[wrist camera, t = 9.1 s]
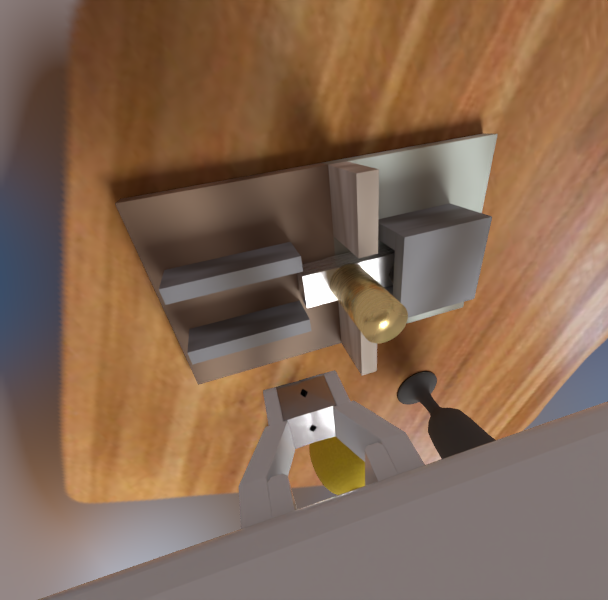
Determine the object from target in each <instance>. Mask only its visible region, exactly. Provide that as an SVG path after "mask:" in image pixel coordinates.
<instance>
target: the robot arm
mask: <svg viewBox="0 0 608 600" xmlns="http://www.w3.org/2000/svg"><path fill="white" fill-rule="evenodd" d="M276 389H277V390H276ZM263 394H264V400H265V406H266V412H267V418H268V424H269V426H267V427H265V429H264V431H263V433H262V436H261V438H260V440H259V442H258V445H257V447H256V449H255V451H254V453H253V456H252V458H251V460H250V462H249V465H248V467H247V469H246V471H245V473H244V476H243V478H242V480H241V482H240V485H239V501H240V519H241V529H240V530H237V531H234V532H231V533H229V534H225V535H222V536H219V537H217V538H214V539H211V540H208V541H205V542H202V543H200V544H197V545H194V546H191V547H188V548H185V549H182V550H180V551H176V552H173V553H171V554H168V555H165V556H162V557H159V558H157V559H153V560H151V561H148V562H145V563H142V564H139V565H136V566H133V567H130V568H128V569H125V570H122V571H119V572H116V573H113V574H110V575H107V576H104V577H102V578H99V579H96V580H93V581H90V582H87V583H84V584H81V585H79V586H76V587H73V588H70V589H67V590H64V591H62V592H59V593H56V594H53V595H50V596H47V597H44V598H41V599H38V600H608V402H605V403H602V404H599V405H597V406H593V407H591V408H588V409H585V410H582V411H579V412H576V413H574V414H570V415H568V416H565V417H562V418H559V419H556V420H553V421H550V422H547V423H545V424H542V425H539V426H536V427H533V428H530V429H528V430H524V431H522V432H519V433H516V434H513V435H510V436H507V437H504V438H501V439H499V440H496V441H493V442H490V443H487V444H484V445H481V446H479V447H476V448H473V449H470V450H467V451H464V452H461V453H458V454H456V455H453V456H450V457H447V458H444V459H441V460H438V461H435V462H433V463H430V464H427V465H425V464H424V463H423V461H422V459H421V458H420V456H419V454H418V453H417V451H416V449H415V448H414V446H413V444H412V443H411V441H410V439H409V438H408V436H407V434H406V433H405V432H404V431H402V430H401V429H399V428H397V427H396V426H394V425H392V424H391V423H389V422H388V421H386V420H384V419H383V418H381V417H380V416H378V415H376V414H375V413H373V412H372V411H370V410H368V409H367V408H365V407H363V406H362V405H360V404H359V403H357V402H355V401H350V399H349V397H348V395H347V393H346V391H345V389H344V387H343V385H342V383H341V381H340V379H339V377H338V374H337V372H336V371H335V370H334V371H331V372H327V373H324V374H320V375H317V376H313V377H310V378H306V379H303V380H300V381H297V382H293V383H289V384H285V385H282V386H278V387H274V388H271V389H267V390H263ZM335 436H336V437H337V438H338V439H339V440H340V441H341V442H342V443H344V444H345V445H346V446H347V447H348V448H349V449H351V450H352V451H353V452H354V453H355V454H356V455H357V456H359V457H360V458H361V459H362V460H363V461H364V462H365V486H363V487H360V488H357V489H355V490H352V491H349V492H346V493H343V494H340V495H337V496H334V497H332V498H329V499H326V500H323V501H320V502H317V503H315V504H311V505H309V506H306V507H303V508H300V509H297V507H296V504H295V500H294V497H293V493H292V489H291V486H290V483H289V479H288V474H289V470H290V467H291V463H292V460H293V456H294V452H295V449H297V448H299V447H302V446H305V445H308V444H311V443H314V442H317V441H321V440H324V439H328V438H331V437H335Z"/></svg>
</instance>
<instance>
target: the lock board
mask: <svg viewBox="0 0 608 600" xmlns="http://www.w3.org/2000/svg"><path fill="white" fill-rule="evenodd" d="M496 139H497V134H478V135H473V136H467V137H462V138H456V139H451V140H445V141H439V142H434V143H428V144H423V145H417V146H412V147H406V148H401V149H395V150H389V151H384V152H378V153H373V154H367V155H362V156H356V157H351V158H345V159H340V160H334V161H328V162H323V163H317V164H312V165H306V166H301V167H295V168H290V169H284V170H279V171H273V172H267V173H262V174H256V175H251V176H245V177H240V178H234V179H229V180H223V181H218V182H212V183H206V184H201V185H195V186H190V187H184V188H179V189H173V190H168V191H162V192H156V193H151V194H145V195H140V196H134V197H129V198H123V199H120V200H119V201H117V202H116V203H115V205H116V207H117V209H118V211H119V213H120V216H121V218H122V220H123V222H124V224H125V226H126V229H127V231H128V233H129V235H130V237H131V239H132V242H133V244H134V246H135V248H136V250H137V252H138V255H139V257H140V259H141V261H142V263H143V266H144V268H145V270H146V272H147V274H148V276H149V279H150V281H151V283H152V285H153V287H154V289H155V292H156V294H157V296H158V298H159V300H160V302H161V305H162V307H163V309H164V311H165V313H166V315H167V318H168V320H169V322H170V324H171V326H172V328H173V331H174V333H175V335H176V337H177V339H178V342H179V344H180V346H181V348H182V350H183V352H184V355H185V357H186V359H187V361H188V363H189V365H190V368H191V370H192V372H193V374H194V376H195V378H196V381H197V383H198V385H199V384H202V383H206V382H209V381H212V380H216V379H219V378H223V377H226V376H229V375H233V374H236V373H240V372H243V371H246V370H250V369H253V368H257V367H260V366H264V365H267V364H270V363H274V362H277V361H281V360H284V359H287V358H291V357H294V356H298V355H301V354H304V353H308V352H311V351H315V350H318V349H322V348H325V347H328V346H332V345H335V344H339V343H342V344H343V346H344V348H345V349H346V351H347V352H348V354H349V356H350V357H351V359H352V361H353V362H354V364H355V365H356V367H357V369H358V370H359V372H360V373H361V375H365V374H369V373H372V372H375V371H377V343H372V342H370V341H368V340H367V339H366V338H365V336H364V335H363V334H362V332H361V331H360V330H359V329H358V327H357V326H356V325H355V323H354V322H353V321H352V319H351V318H350V317H349V315H348V314H347V313H346V311H345V310H344V309H343V307H342V306H341V305H340V303H339V302H338V301H337V300H336V301H332V302H328V303H324V304H321V305H317V306H313V307H309V308H307V307H306V305H305V303H304V302H303V300H302V298H301V296H300V292H299V285H298V279H297V273H299V272H303V268H302V264H303V263H307V262H312V261H316V260H320V259H324V258H328V257H333V256H337V255H341V254H345V253H349V252H352V253H353V254H354V255H356V256H357V257H358V258H362V257H366V256H370V255H374V254H378V246H379V245H383V244H385V245H387V246H389V247H390V248H392V249H393V250H395V257H394V279H393V285H392V286H388V287H384V288H385V289H386V290H387V291H388V292H389V293H390V294H392V295H393V296H394V297H395V298H396V299H397V300H398V301H399V302H400V303H401V304H403V305H404V306H405V308H406V309H407V312H408V320H407V323H410V322H414V321H417V320H421V319H424V318H427V317H431V316H434V315H438V314H441V313H444V312H448V311H451V310H455V309H458V308H461V307H463V305H464V301H468V300H471V299H474V297H475V293H476V288H477V284H478V279H479V274H480V270H481V265H482V261H483V256H484V252H485V247H486V243H487V238H488V233H489V229H490V224H491V220H492V216H488V215H485V214H482V209H483V204H484V199H485V194H486V189H487V184H488V179H489V174H490V169H491V164H492V159H493V154H494V149H495V144H496ZM407 323H406V324H407Z"/></svg>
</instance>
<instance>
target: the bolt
mask: <svg viewBox="0 0 608 600" xmlns="http://www.w3.org/2000/svg"><path fill="white" fill-rule="evenodd" d="M394 257H395V250H393V249H392V248H390V247H389V246H387V245H385V244H383V245H379V246H378V254H374V255H370V256H366V257H362V258H358V257H357V256H356V255H354V254H353V253H352V252H349V253H345V254H341V255H337V256H333V257H328V258H324V259H320V260H316V261H312V262H307V263H303V264H302V268H303V272H299V273H297V279H298V285H299V292H300V296H301V298H302V300H303V302H304V303H305V305H306V307H307V308H309V307H313V306H317V305H321V304H324V303H328V302H332V301H336V300H337V301H338V302H339V303H340V305H341V306H342V307H343V309H344V310H345V311H346V313H347V314H348V315H349V317H350V318H351V319H352V321H353V322H354V323H355V325H356V326H357V327H358V329H359V330H360V331H361V332H362V334H363V335H364V336H365V338H366V339H367V340H368V341H370V342H372V343H384V342H387V341H390V340H392V339H393V338H395V337H396V336H397V335H398V334H399V333H400V332H401V331H402V330H403V329H404V327H405V325H406V323H407V320H408V312H407V309H406V308H405V306H404V305H403V304H401V303H400V302H399V301H398V300H397V299H396V298H395V297H394V296H393V295H392V294H390V293H389V292H388V291H387V290H386V289H385V288H384V287H388V286H392V285H393V279H394Z"/></svg>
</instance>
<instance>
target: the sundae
mask: <svg viewBox="0 0 608 600" xmlns="http://www.w3.org/2000/svg"><path fill="white" fill-rule="evenodd" d="M436 383H437V379H436V376H435V375H434V374H433V373H431V372H420V373H417V374H415V375H413V376H411V377H410V378H408V379H407V380H406V381H405V382H404V383H403V384H402V385H401V387H400V389H399V391H398V400H399V401H400V402H401V403H403V404H414V403H417V402H420V403H422V404H423V405H424V406H425V407H426V409H427V410H428V411H429V413H430V415H431V417H430V420H429V425H428V433H429V435H430V438H431V440H432V442H433V444H434V446H435V448H436V449H437V451H438V453H439V455H440V457H441V458H442V459H444V458H447V457H450V456H453V455H456V454H458V453H461V452H464V451H467V450H470V449H473V448H476V447H479V446H481V445H484V444H487V443H490V442H493V441H496V440H495V439H493V438H492V437H491V436H490V435H488V434H487V433H486V432H485V431H484V430H483V429H482V428H481V427H479V426H478V425H477V424H476V423H475V422H474V421H473V420H472V419H471V418H469V417H468V416H467V415H465V414H464V413H463V412H462V411H460V410H458V409H453V408H441V407H439V405H438V404H437V403H436V402H435V401H434V399H433V398H432V396H431V393H432V391H433V390H434V388H435V386H436Z"/></svg>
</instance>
